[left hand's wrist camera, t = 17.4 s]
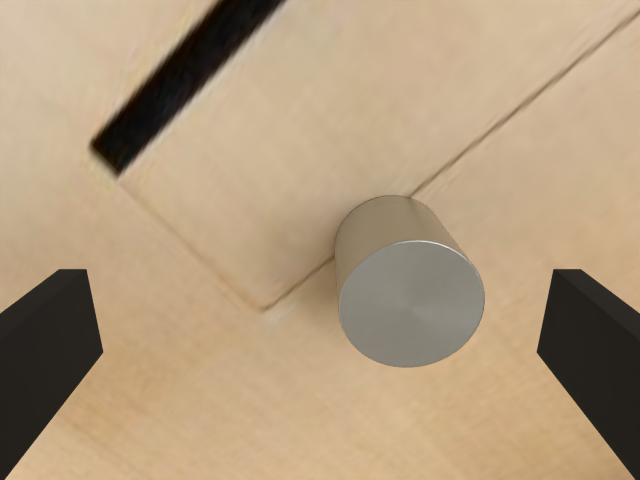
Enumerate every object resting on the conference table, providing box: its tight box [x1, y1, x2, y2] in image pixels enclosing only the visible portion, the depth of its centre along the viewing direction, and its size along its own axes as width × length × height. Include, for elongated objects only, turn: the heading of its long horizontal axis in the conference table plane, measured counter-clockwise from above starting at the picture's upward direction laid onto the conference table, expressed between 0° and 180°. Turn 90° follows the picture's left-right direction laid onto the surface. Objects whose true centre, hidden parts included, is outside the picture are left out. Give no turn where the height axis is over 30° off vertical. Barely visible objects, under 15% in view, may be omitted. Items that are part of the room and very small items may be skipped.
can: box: [334, 196, 485, 367], centre depth 26 cm, size 7×7×8 cm
